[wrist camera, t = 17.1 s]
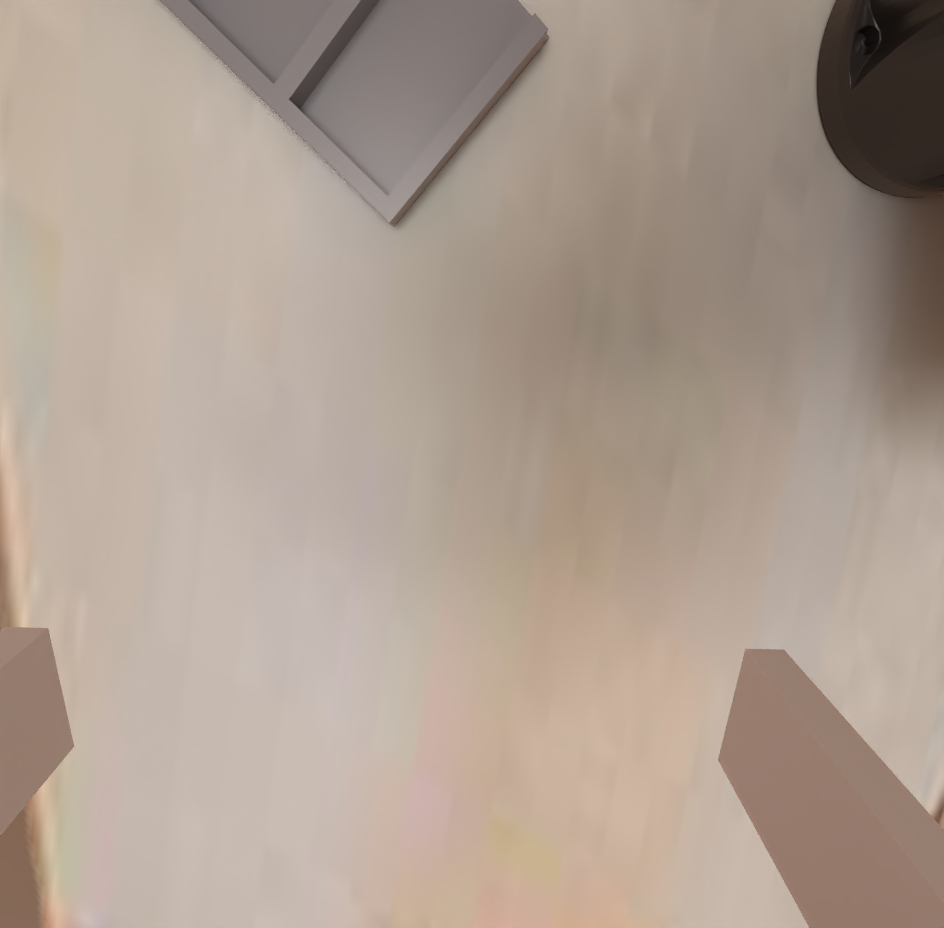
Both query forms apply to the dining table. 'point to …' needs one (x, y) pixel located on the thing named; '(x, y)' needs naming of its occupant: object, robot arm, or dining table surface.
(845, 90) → the robot arm
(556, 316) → the dining table surface
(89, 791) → the dining table surface
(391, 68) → the gray divided tray
